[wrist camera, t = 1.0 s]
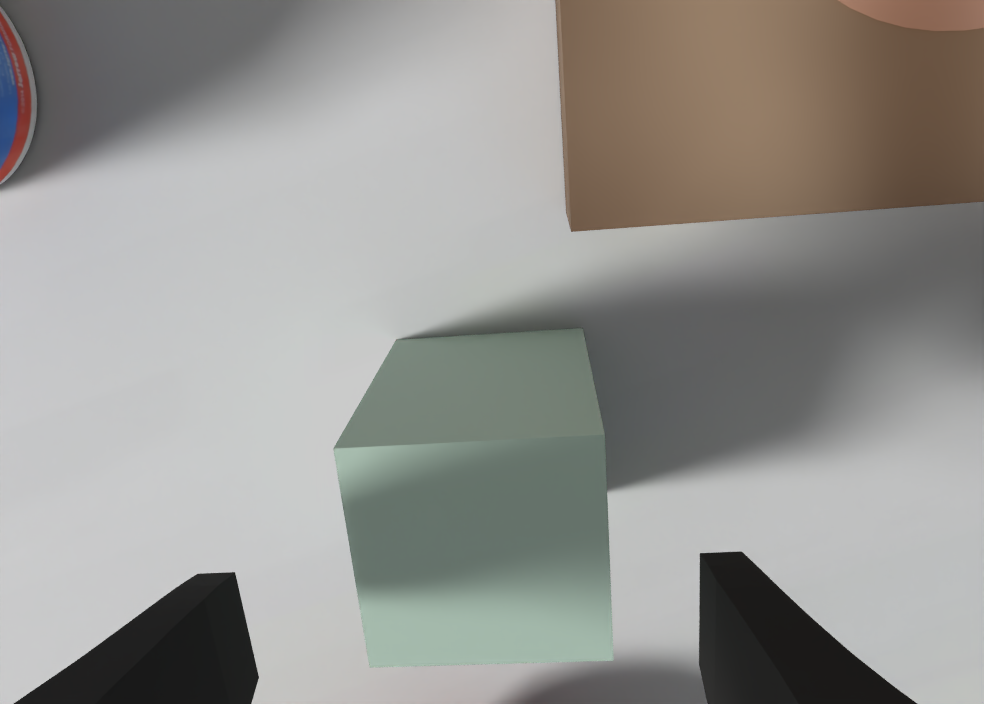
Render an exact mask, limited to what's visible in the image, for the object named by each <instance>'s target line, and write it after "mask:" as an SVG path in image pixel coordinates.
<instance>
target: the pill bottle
mask: <svg viewBox="0 0 984 704" xmlns="http://www.w3.org/2000/svg"><path fill="white" fill-rule="evenodd" d="M36 115H37V95H36V87H35V80H34V75H33V70H32V67H31V64H30V60H29V57H28V54H27V52H26V49H25V46H24V44H23V42H22V40H21V38H20V36H19V34H18V32H17V31H16V29H15V27H14V25H13V23H12V22H11V20H10V19H9V17H8V16H7V14H6V13H5V12H4V10H3V9H2V8H1V6H0V185H1V184H2V183H3V182H5V181H6V180H7V179H8V178H9V177H10V176H11V175H12V174H13V173H14V172H15V171H16V169H17V168H18V166H19V165H20V163H21V162H22V160H23V159H24V157H25V155H26V153H27V151H28V149H29V146H30V144H31V141H32V137H33V134H34V129H35V123H36Z"/></svg>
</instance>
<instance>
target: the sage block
mask: <svg viewBox="0 0 984 704" xmlns="http://www.w3.org/2000/svg"><path fill="white" fill-rule="evenodd" d="M334 455H335V461H336V467H337V473H338V479H339V485H340V491H341V497H342V503H343V509H344V515H345V521H346V527H347V534H348V540H349V546H350V552H351V558H352V564H353V570H354V576H355V582H356V588H357V594H358V600H359V606H360V612H361V618H362V624H363V630H364V636H365V642H366V648H367V654H368V660H369V666H370V667H405V666H440V665H476V664H511V663H546V662H582V661H614V660H613V634H612V608H611V582H610V555H609V529H608V503H607V477H606V451H605V433H604V428H603V423H602V418H601V414H600V409H599V404H598V399H597V394H596V390H595V385H594V380H593V375H592V370H591V366H590V361H589V356H588V351H587V346H586V341H585V337H584V332H583V328H574V329H558V330H542V331H526V332H510V333H494V334H478V335H463V336H447V337H431V338H415V339H399V340H396V341H395V343H394V345H393V346H392V348H391V350H390V352H389V353H388V355H387V357H386V358H385V360H384V362H383V364H382V365H381V367H380V369H379V371H378V372H377V374H376V376H375V378H374V379H373V381H372V383H371V384H370V386H369V388H368V390H367V391H366V393H365V395H364V397H363V398H362V400H361V402H360V404H359V405H358V407H357V409H356V410H355V412H354V414H353V416H352V417H351V419H350V421H349V423H348V424H347V426H346V428H345V430H344V431H343V433H342V435H341V436H340V438H339V440H338V442H337V443H336V445H335V447H334Z"/></svg>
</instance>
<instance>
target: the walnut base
mask: <svg viewBox="0 0 984 704" xmlns="http://www.w3.org/2000/svg"><path fill="white" fill-rule="evenodd" d="M555 1H556V21H557V40H558V60H559V80H560V99H561V119H562V138H563V158H564V178H565V197H566V214H567V217H568V221H569V225H570V229H571V232H573V231H587V230H601V229H614V228H628V227H642V226H655V225H669V224H683V223H696V222H710V221H724V220H737V219H751V218H765V217H778V216H792V215H806V214H819V213H833V212H847V211H860V210H874V209H888V208H901V207H915V206H929V205H942V204H956V203H970V202H983V201H984V0H555Z"/></svg>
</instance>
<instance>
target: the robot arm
mask: <svg viewBox="0 0 984 704" xmlns="http://www.w3.org/2000/svg"><path fill="white" fill-rule="evenodd" d="M699 666H700V670H701V675H702V680H703V684H704V689H705V693H706V698H707V703H708V704H917V703H915V702H914V701H913V700H911V699H910V698H909V697H907V696H906V695H905V694H903V693H902V692H900V691H899V690H898V689H896V688H895V687H894V686H892V685H891V684H890V683H889V682H887V681H886V680H885V679H884V678H882V677H881V676H880V675H879V674H877V673H876V672H875V671H873V670H872V669H871V668H870V667H868V666H867V665H866V664H865V663H863V662H862V661H861V660H859V659H858V658H857V657H856V656H855V655H853V654H852V653H851V652H850V651H849V650H847V649H846V648H845V647H844V646H843V645H842V644H840V643H839V642H838V641H837V640H836V639H835V638H834V637H833V636H831V635H830V634H829V633H828V632H827V631H826V630H825V629H823V628H822V627H821V626H820V625H819V624H818V623H817V622H816V621H814V620H813V619H812V618H811V617H810V616H809V615H808V614H807V613H806V612H805V611H803V610H802V609H801V608H800V607H799V606H798V605H797V604H796V603H795V602H794V601H793V600H792V599H791V598H790V597H789V596H788V595H786V594H785V593H784V592H783V591H782V590H781V589H780V588H779V587H778V586H777V585H776V584H775V583H774V582H773V581H772V580H771V579H770V578H769V577H768V576H767V575H766V574H765V573H764V572H763V571H762V570H761V569H759V568H758V567H757V566H756V565H755V564H754V563H753V562H752V561H751V560H750V559H749V558H748V557H747V556H746V555H745V554H744V553H743V552H721V553H700V628H699ZM258 679H259V676H258V672H257V668H256V663H255V659H254V654H253V650H252V646H251V641H250V637H249V632H248V628H247V623H246V619H245V615H244V610H243V606H242V601H241V597H240V593H239V588H238V584H237V579H236V575H235V572H232V573H207V574H197V575H195V576H194V577H192V578H190V579H189V580H187V581H186V582H184V583H183V584H181V585H180V586H178V587H177V588H175V589H174V590H173V591H171V592H170V593H168V594H167V595H166V596H164V597H163V598H161V599H160V600H159V601H157V602H156V603H155V604H153V605H152V606H151V607H149V608H148V609H146V610H145V611H144V612H142V613H141V614H140V615H138V616H137V617H136V618H134V619H133V620H132V621H130V622H129V623H128V624H126V625H125V626H123V627H122V628H121V629H119V630H118V631H117V632H115V633H114V634H113V635H111V636H110V637H108V638H107V639H106V640H104V641H103V642H102V643H100V644H99V645H98V646H96V647H95V648H93V649H92V650H91V651H89V652H88V653H87V654H85V655H84V656H82V657H81V658H80V659H78V660H77V661H75V662H74V663H72V664H71V665H70V666H68V667H67V668H65V669H64V670H62V671H61V672H59V673H58V674H56V675H55V676H53V677H52V678H51V679H49V680H48V681H46V682H45V683H43V684H42V685H40V686H39V687H37V688H36V689H34V690H33V691H32V692H30V693H29V694H27V695H26V696H24V697H23V698H21V699H20V700H18V701H17V702H16V703H14V704H251V702H252V699H253V696H254V692H255V689H256V685H257V682H258Z"/></svg>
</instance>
